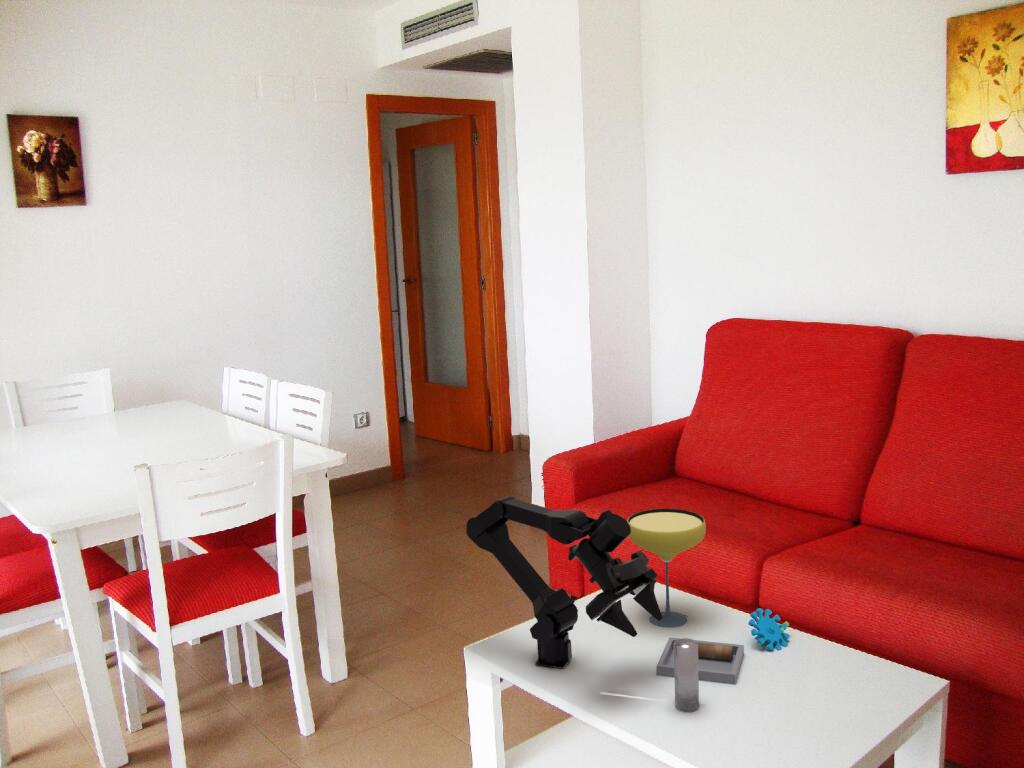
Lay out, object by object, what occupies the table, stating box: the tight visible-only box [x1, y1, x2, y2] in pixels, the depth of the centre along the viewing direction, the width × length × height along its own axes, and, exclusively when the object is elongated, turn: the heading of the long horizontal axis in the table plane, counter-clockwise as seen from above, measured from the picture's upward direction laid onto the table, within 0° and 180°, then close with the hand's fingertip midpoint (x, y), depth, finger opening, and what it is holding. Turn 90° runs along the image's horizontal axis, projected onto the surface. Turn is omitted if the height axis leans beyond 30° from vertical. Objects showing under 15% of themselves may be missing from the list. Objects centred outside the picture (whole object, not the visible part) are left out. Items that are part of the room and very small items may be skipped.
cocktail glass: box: [626, 508, 707, 629], centre depth 222 cm, size 18×18×25 cm
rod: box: [698, 643, 733, 661], centre depth 203 cm, size 7×3×3 cm, turn 70°
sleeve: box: [673, 637, 700, 713], centre depth 184 cm, size 5×5×13 cm
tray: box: [656, 636, 745, 685], centre depth 201 cm, size 16×14×3 cm
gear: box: [747, 608, 790, 652], centre depth 210 cm, size 11×6×10 cm
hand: (648, 627), depth 189 cm, fingers open, 9 cm apart
